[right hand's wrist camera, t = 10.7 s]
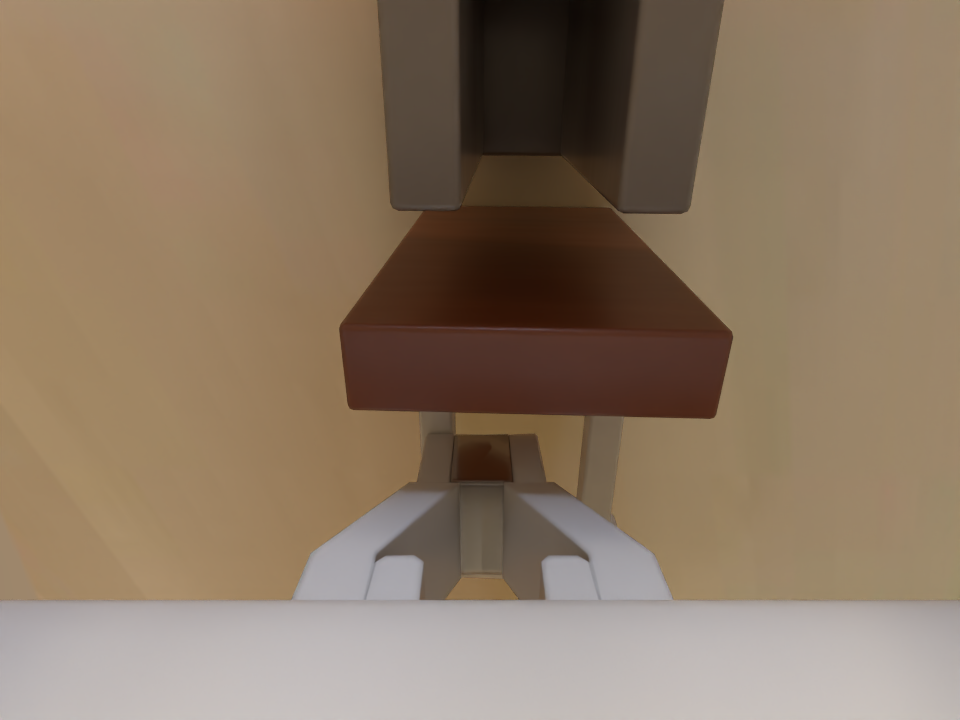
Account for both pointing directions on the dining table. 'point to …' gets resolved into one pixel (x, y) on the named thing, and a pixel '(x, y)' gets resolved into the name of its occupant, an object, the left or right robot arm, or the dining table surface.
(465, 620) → the right robot arm
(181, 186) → the dining table surface
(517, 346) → the drawer
